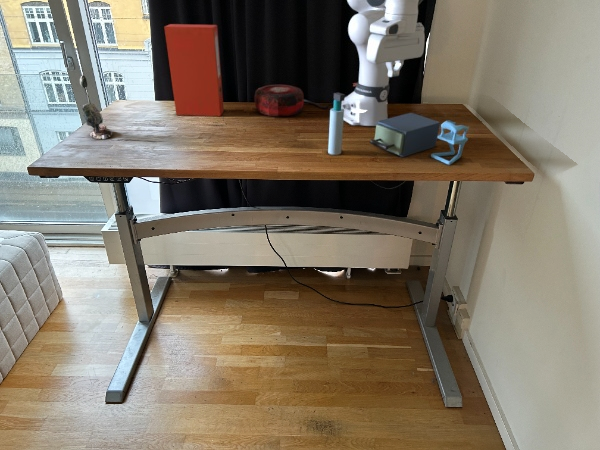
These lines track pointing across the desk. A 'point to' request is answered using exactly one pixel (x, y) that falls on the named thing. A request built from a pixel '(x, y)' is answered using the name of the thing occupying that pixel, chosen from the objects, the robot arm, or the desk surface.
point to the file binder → (195, 69)
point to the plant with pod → (94, 117)
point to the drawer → (388, 139)
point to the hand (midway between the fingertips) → (393, 76)
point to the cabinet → (414, 132)
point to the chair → (451, 141)
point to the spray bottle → (336, 125)
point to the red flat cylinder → (279, 100)
